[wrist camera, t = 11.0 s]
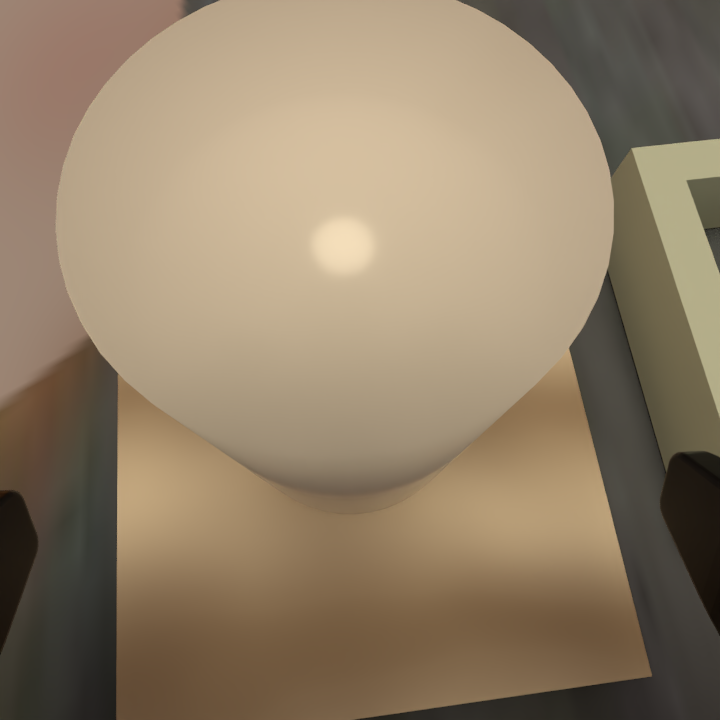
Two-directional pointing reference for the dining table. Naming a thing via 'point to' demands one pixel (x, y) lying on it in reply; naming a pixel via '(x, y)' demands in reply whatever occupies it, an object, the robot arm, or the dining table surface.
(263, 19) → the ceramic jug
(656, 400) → the glass holder
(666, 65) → the dining table surface
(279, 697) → the serving board
